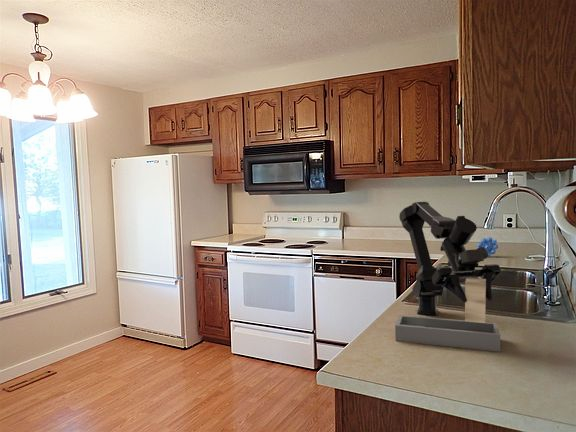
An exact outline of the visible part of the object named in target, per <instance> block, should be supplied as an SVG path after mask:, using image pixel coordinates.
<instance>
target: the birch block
mask: <svg viewBox="0 0 576 432" xmlns="http://www.w3.org/2000/svg"><path fill="white" fill-rule="evenodd" d="M464 284H465V285H464V287H465V289H464V294H465V296H466V299H467V302H466V303H464V320H465V321H469V322H478V323H485V322H486V308H487V307H486V305H487V302H486V301H487V298H486V279H479V278H478V277H471V278H465V281H464Z"/></svg>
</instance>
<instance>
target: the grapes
mask: <svg viewBox="0 0 576 432" xmlns="http://www.w3.org/2000/svg"><path fill="white" fill-rule="evenodd" d="M497 243H498V241H497V239H493V237H491V236H488V237H487V238H486V237H484V238H482V239H481V240H480V241H479V242H478V243H477V248H476V249H478V248H480V247H485V249H486V250H487V252H488V256H489V257H491V255H495V254H496V252H497V250H498V249H499V244H497Z"/></svg>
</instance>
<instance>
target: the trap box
mask: <svg viewBox="0 0 576 432" xmlns="http://www.w3.org/2000/svg"><path fill="white" fill-rule="evenodd" d="M394 327H395V331H394V333H395V341H396V342H405V343H415V344H424V345H432V346H433V345H434V346H442V347H449V348H450V347H452V348H461V349H471V350H479V351H480V350H481V351H490V352H499V353H500V352H501V333H500V329H499V326H498V323H497V322H490V321H489V322H487V321H485V323H478V322H469V321H465V319H464V320H463V319H452V318H451V319H449V318H442V317H441V318H439V317H427V316H416V315H415V316H414V315H402V314H400V315H398V318H397V321H396V322H395V326H394Z"/></svg>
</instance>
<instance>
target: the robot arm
mask: <svg viewBox="0 0 576 432" xmlns="http://www.w3.org/2000/svg"><path fill="white" fill-rule="evenodd" d="M399 221H400V222H401V225H402V228H403V229H404V230H405V231H406V232H408V234H409V236H410V242H411V245H412V249H413V254H414V256H415V260H416V264H417V265H416V266H417V268H418V271H417V273H416V276H415V283H414V285H413V286H412V295H414V296H416V297H418V307H417V311H416V314H418V315H426V316H427V315H430V316H438V310H439V309H438V308H437V297H438V296H439V297H442V296H443V291H444V288H446V289H447V290H448V291H450V292H451V293H452V294H454V295H455V296H456V297H457V298H459V299H460V301H462V302H463V303H464V304H465V303H466V302H467V299H466V296H465V290H464V288H463V287H462V285H461V283H460V279H466V278H477V279H486V300H488V301H489V302H491V301H492V300H493V298H492V297H493V295H492V283H493V282H495V281H496V280H497V278H498V277H499V276H500V275H501V274H502V272H503V270H502V269H501V266H500V265H499V264H495V263H492V264H484V265H483V266H482V267H481V269H476V268H479V267H478V266H479V263H481V262H484V260H485V259H488V258H489V257H488V252H487V250H486V249H485V247H480V248H479V247H477V248H478V249H477V248H476V249H466V247H465V245H467V244H468V243H470V240H471V239H472V237H473V236H474V234H475V233H476V232H477V224H476V223H475V222H474V221H472V220H471V219H468V218H466V216H465V215H458V216H457V217H456V218H455V219H453V218H452V217H447V216H444V215H442V214H441V213H439V211H437V210H436V209H434V208H433V207H432V206H431V205H430V204H429V202H428V201H415V202H413V203H412V204H411V205H408V206H405V207H404V208H403V209H402V210H401V211H400V212H399ZM425 222H426V223H427V224H428V225H429V227H430V233H431V234H432V236H433V237H434V238H435V239H437V240H441V239H443V241H442V242H441V245H440V248H439V249H440V251H441V252H444V253H445V255H446V257H447V259H448V261H447V263H446V264H447V266H440V267H435V266H434V265H433V263H432V259H431V255H430V252H429V248H428V244H427V240H426V238H425V234H424V231H423V227H424V225H425Z"/></svg>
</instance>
